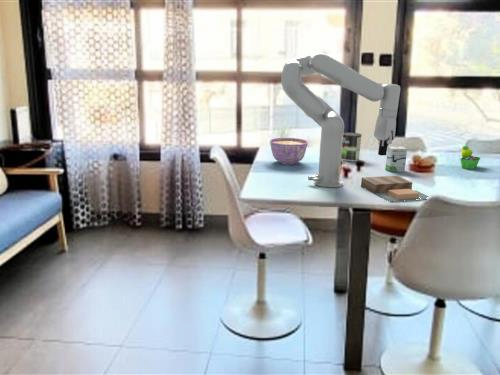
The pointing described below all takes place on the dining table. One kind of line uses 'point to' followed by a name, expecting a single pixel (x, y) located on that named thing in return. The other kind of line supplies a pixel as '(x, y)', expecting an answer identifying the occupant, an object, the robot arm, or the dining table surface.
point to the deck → (385, 183)
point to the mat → (390, 198)
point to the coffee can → (351, 146)
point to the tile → (403, 193)
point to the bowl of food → (288, 149)
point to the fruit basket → (468, 159)
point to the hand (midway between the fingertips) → (382, 154)
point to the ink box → (396, 159)
